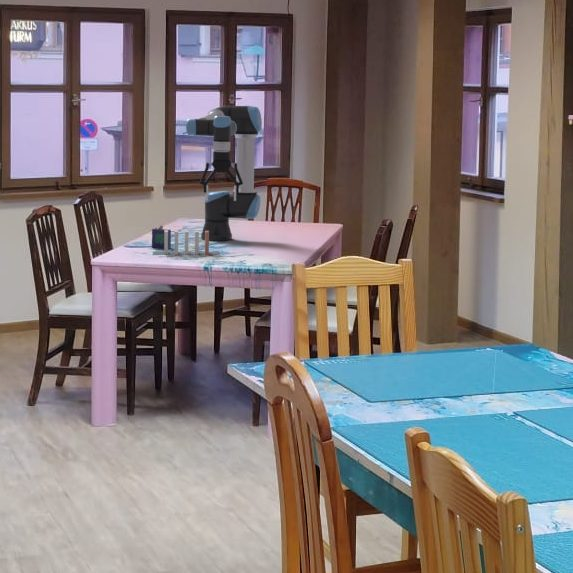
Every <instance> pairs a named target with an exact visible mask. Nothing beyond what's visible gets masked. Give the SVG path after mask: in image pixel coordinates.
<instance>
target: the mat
mask: <svg viewBox="0 0 573 573" xmlns="http://www.w3.org/2000/svg"><path fill="white" fill-rule="evenodd" d="M152 256H221V253H220V252H219V251H209V255H208V254H205V251H199V254H195V251H188V254H185V251H178V254H175V253H174V251H168V254H164V251H152Z"/></svg>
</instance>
